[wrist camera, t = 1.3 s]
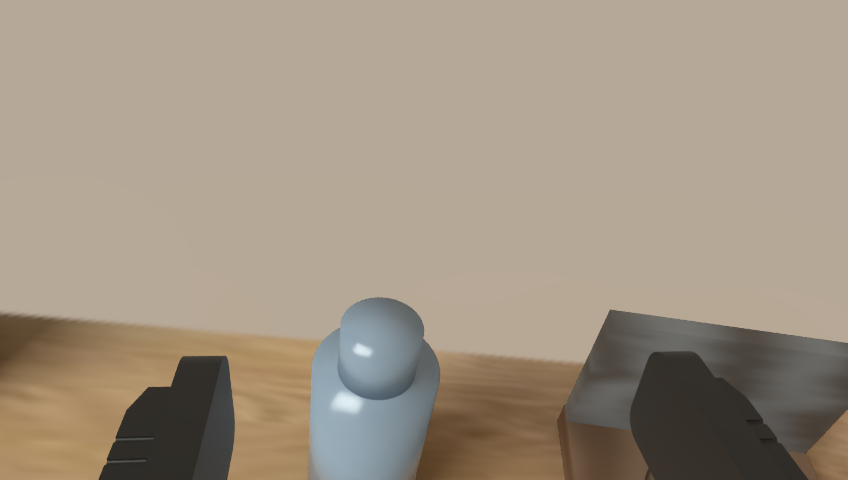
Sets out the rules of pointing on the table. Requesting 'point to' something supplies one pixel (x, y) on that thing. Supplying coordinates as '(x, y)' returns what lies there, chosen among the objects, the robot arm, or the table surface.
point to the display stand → (725, 357)
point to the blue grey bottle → (372, 395)
